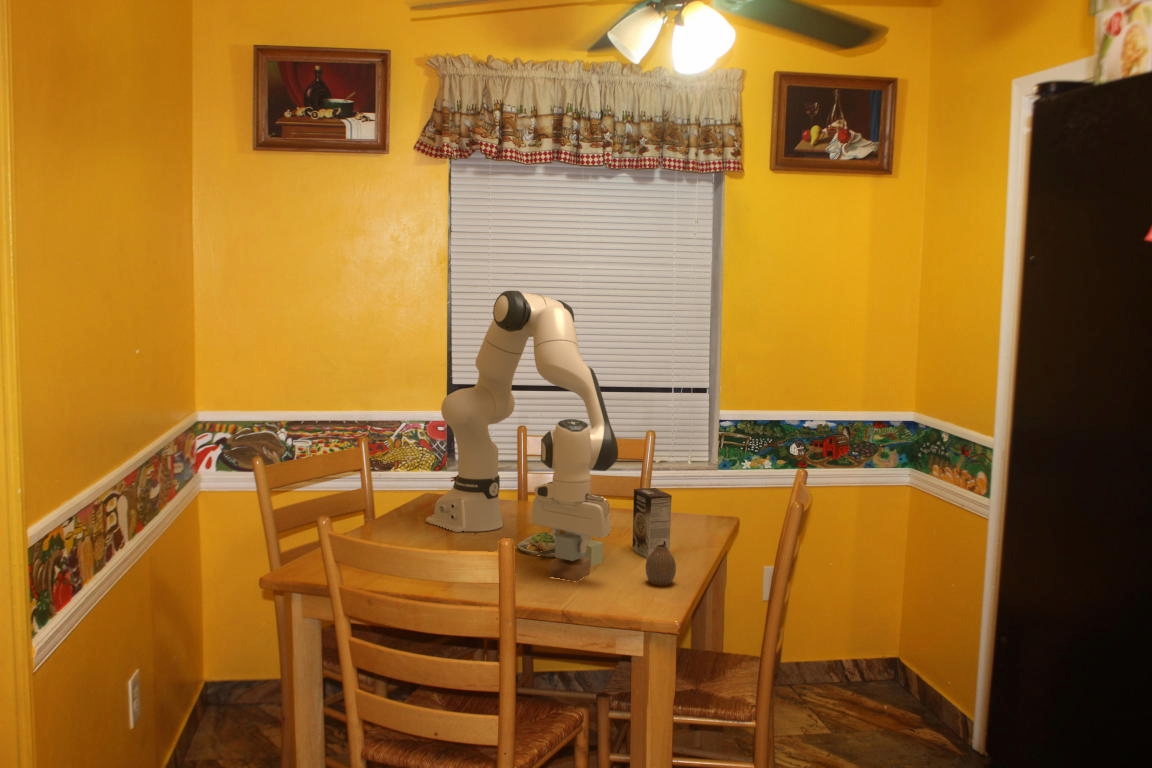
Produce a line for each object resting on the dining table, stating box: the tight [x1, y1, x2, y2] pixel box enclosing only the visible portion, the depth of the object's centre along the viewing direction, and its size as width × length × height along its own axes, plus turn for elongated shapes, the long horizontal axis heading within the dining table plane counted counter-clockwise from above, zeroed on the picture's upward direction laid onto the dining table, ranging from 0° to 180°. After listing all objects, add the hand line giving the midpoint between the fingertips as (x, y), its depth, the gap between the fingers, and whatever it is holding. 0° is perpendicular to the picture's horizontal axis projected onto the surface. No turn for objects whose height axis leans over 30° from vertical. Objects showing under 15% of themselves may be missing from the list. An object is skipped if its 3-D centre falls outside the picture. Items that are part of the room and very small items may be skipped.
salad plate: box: [517, 531, 568, 558], centre depth 238 cm, size 19×18×5 cm
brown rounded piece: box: [645, 544, 677, 587], centre depth 212 cm, size 7×7×9 cm
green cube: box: [582, 539, 604, 567], centre depth 228 cm, size 5×5×5 cm
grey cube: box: [554, 531, 585, 561], centre depth 216 cm, size 5×5×5 cm
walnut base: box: [548, 557, 591, 582], centre depth 216 cm, size 7×7×4 cm
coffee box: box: [631, 487, 673, 560], centre depth 235 cm, size 9×6×16 cm
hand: (570, 549), depth 216 cm, fingers closed on grey cube, 5 cm apart
